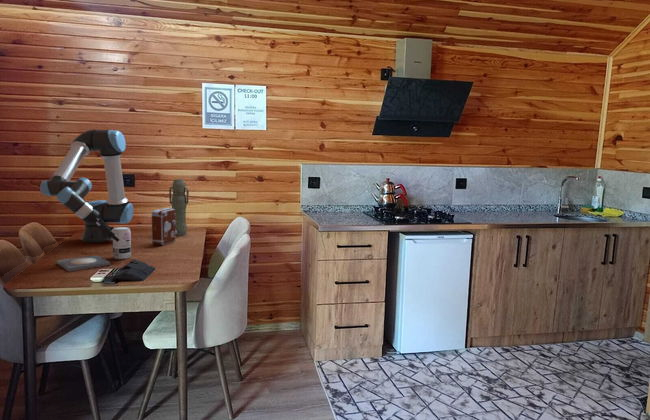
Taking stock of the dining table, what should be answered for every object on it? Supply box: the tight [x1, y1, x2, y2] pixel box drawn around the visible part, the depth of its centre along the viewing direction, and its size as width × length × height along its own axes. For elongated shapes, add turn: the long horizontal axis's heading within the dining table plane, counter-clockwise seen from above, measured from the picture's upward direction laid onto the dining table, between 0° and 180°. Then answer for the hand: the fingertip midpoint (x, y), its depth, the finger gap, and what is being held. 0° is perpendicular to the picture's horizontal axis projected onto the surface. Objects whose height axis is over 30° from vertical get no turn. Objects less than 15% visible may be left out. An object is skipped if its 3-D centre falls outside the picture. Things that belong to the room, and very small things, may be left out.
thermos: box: [168, 178, 190, 237], centre depth 297 cm, size 9×12×35 cm
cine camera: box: [151, 207, 177, 246], centre depth 275 cm, size 9×19×20 cm, turn 166°
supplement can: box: [112, 226, 132, 260], centre depth 237 cm, size 8×8×15 cm
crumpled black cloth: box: [112, 259, 156, 282], centre depth 209 cm, size 15×22×5 cm
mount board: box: [56, 254, 111, 272], centre depth 223 cm, size 18×18×2 cm
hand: (122, 242), depth 236 cm, fingers open, 13 cm apart
